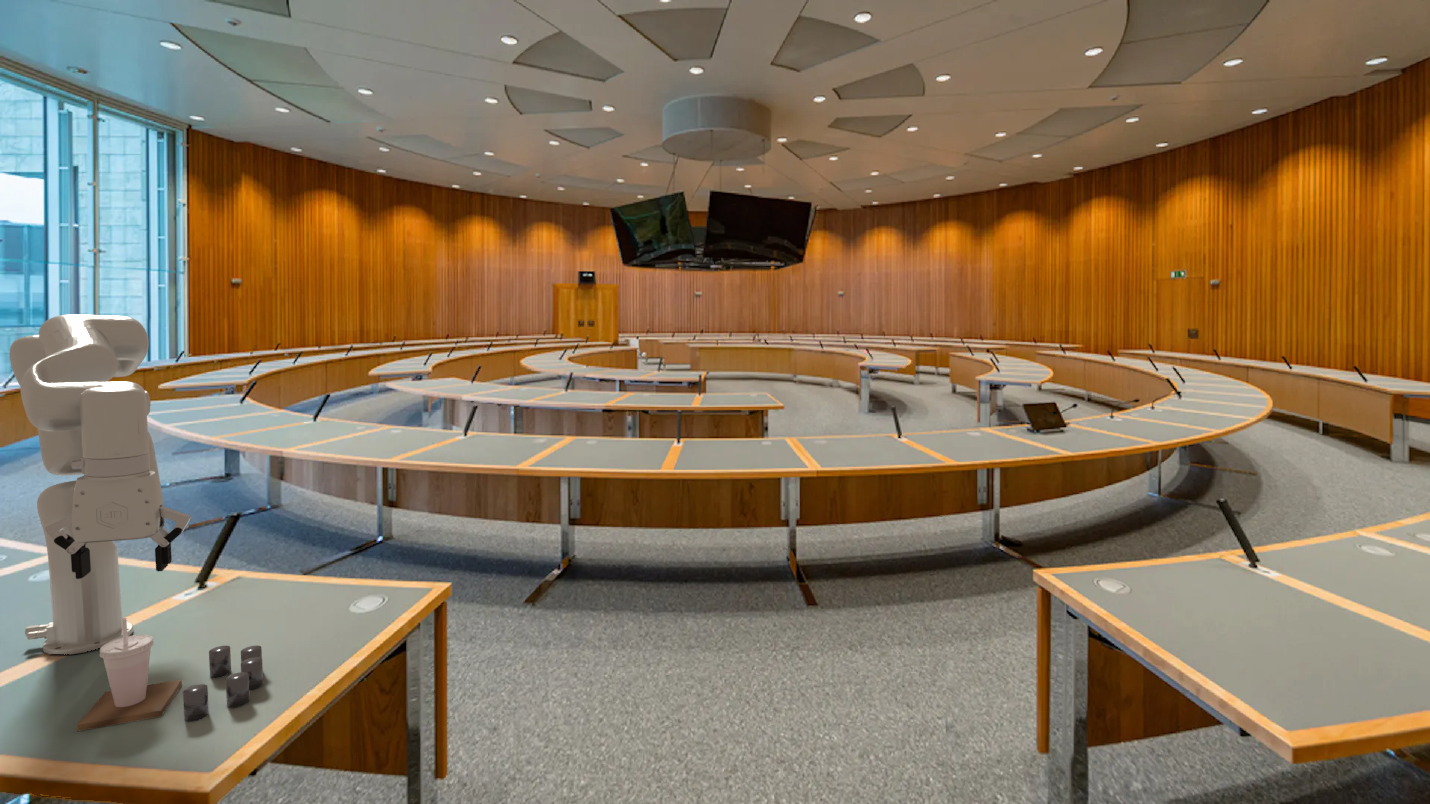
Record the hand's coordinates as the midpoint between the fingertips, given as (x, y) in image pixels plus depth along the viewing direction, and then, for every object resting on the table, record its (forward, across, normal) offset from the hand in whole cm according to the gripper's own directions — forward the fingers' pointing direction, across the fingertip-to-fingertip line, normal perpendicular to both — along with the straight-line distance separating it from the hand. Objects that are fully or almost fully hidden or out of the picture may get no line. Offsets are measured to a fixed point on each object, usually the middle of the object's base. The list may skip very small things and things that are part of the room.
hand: (123, 572), depth 102 cm
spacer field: (+22, +13, -1) cm, 26 cm away
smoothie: (+22, 0, -1) cm, 22 cm away
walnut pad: (+22, 0, -1) cm, 22 cm away
